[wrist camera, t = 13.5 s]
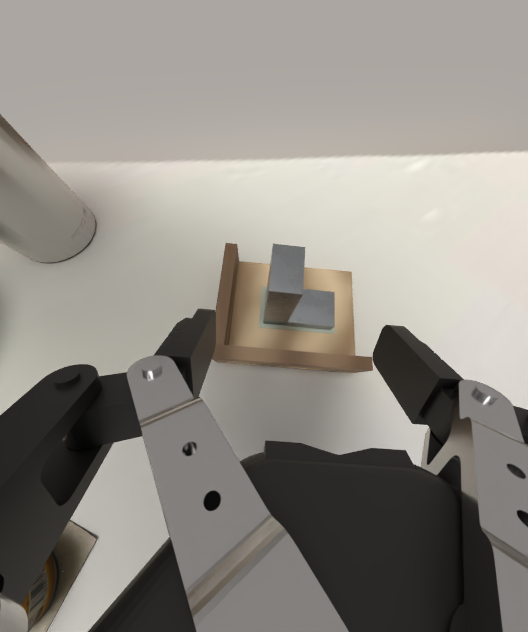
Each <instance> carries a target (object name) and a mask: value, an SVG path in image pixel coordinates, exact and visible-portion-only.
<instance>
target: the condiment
mask: <svg viewBox="0 0 528 632" xmlns="http://www.w3.org/2000/svg"><path fill="white" fill-rule="evenodd" d="M95 541H96V538H95V537H93V536H91V535H90V534H89V533H88V532H87V531H85V530H83V529H82V528H80V527H78V526H76V525H75V524H74V523H73V522H71V521H69V522H68V524H67V526H66V527H65V529H64V531H63V533H62V534H61V536H60V538H59V540H58V541H57V543H56V545H55V547H54V548H53V550H52V552H51V554H50V556H49V557H48V559H47V561H46V563H45V564H44V566H43V568H42V570H41V571H40V573H39V575H38V577H37V578H36V580H35V582H34V584H33V585H32V587H31V589H30V591H29V593H28V594H27V596H26V598H25V600H24V601H23V603H22V605H21V606H22V607H23V608H24V609H25V612H26V614H27V618H28V631H27V632H46V631H47V629H48V627H49V626H50V624H51V622H52V621H53V619H54V617H55V615H56V613H57V611H58V609H59V608H60V606H61V604H62V602H63V600H64V598H65V597H66V595H67V593H68V591H69V589H70V587H71V585H72V583H73V582H74V580H75V578H76V576H77V574H78V573H79V571H80V569H81V567H82V566H83V564H84V562H85V560H86V558H87V556H88V554H89V552H90V550H91V549H92V547H93V545H94V543H95ZM62 571H63V572H62Z"/></svg>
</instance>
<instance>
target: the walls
mask: <svg viewBox="0 0 528 632" xmlns="http://www.w3.org/2000/svg"><path fill="white" fill-rule="evenodd" d="M238 266H239V257H238V248H237V244H230V243H226V245H225V252H224V258H223V265H222V272H221V279H220V285H219V292H218V299H217V306H216V346H215V351H214V354H213V356H212V359H213V360H215V361H223V362H235V363H247V364H259V365H271V366H284V367H296V368H308V369H320V370H332V371H345V372H364V371H372V370H373V366H372V357H363V356H351V355H339V354H327V353H315V352H303V351H291V350H279V349H267V348H255V347H243V346H231V345H229V338H230V330H231V322H232V314H233V306H234V298H235V290H236V282H237V274H238Z"/></svg>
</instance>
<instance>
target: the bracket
mask: <svg viewBox="0 0 528 632" xmlns="http://www.w3.org/2000/svg"><path fill="white" fill-rule="evenodd" d="M304 259H305V247H298V246H288V245H279V244H273V249H272V255H271V262H270V269H269V276H268V283H267V290H266V300H265V310H264V321H263V323H264V324H274V325H284V326H294V327H304V328H314V329H323V330H331V329H332V328H334V327H335V292H330V291H321V290H311V289H303V282H304Z"/></svg>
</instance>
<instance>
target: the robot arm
mask: <svg viewBox="0 0 528 632" xmlns="http://www.w3.org/2000/svg"><path fill="white" fill-rule="evenodd" d="M95 227H96V226H95V219H94V216H93V214H92V212H91V211H90V210H89V209H88V208H87V207H86V206H85V204H84V203H83V202H82V201H81V200H80V199H79V198H78V197H77V196H76V195H75V194H74V193H73V192H72V191H71V189H70V188H69V187H68V186H67V185H66V184H65V183H64V182H63V181H62V180H61V179H60V177H59V176H58V175H57V174H56V173H55V172H54V171H53V170H52V169H51V168H50V167H49V166H48V165H47V164H46V163H45V161H44V160H43V159H41V157H40V156H39V155H38V154H37V153H36V152H35V151H34V150H33V149H32V148H31V147H30V145H29V144H28V143H27V142H26V141H25V140H24V139H23V138H22V137H21V136H20V135H19V134H18V133H17V132H16V131H15V129H14V128H13V127H12V126H11V125H10V124H9V123H8V122H7V121H6V120H5V119H4V118H3V117H2V116H1V114H0V242H1V243H3V244H5V245H6V246H8V247H10V248H12V249H14V250H15V251H17V252H19V253H21V254H23V255H24V256H26V257H28V258H30V259H31V260H35V261H38V262H45V263H49V262H58V261H62V260H65V259H68V258H70V257H72V256H74V255H76V254H77V253H79V252H80V251H81V250H83V249H84V248H85V247H86V246H87V245H88V243H89V242H90V241H91V239H92V237H93V235H94V232H95ZM215 346H216V312H215V310H209V309H198V310H197V311H196V313H195V315H194V316H193V318H185V319H183V320H182V321H180V322H178V323H177V324H176V326H175V327H174V328H173V330H172V331H171V332H170V334H169V335H168V337H167V338H166V339H165V341H164V342H163V343H162V345H161V346H160V347H159V349H158V350H157V352H156V353H155V354H154V356H150V357H146V358H143V359H141V360H139V361H137V362H135V363H134V364H133V365H132V366H131V367H130V368H129V369H128V371H127V372H126V373H120V374H113V375H106V376H99V375H98V372H97V370H96V368H95V367H93V366H91V365H85V364H79V365H72V366H68V367H64V368H62V369H59V370H57V371H55V372H53V373H51V374H49V375H47V376H46V377H45V378H43V379H42V380H41V381H40V382H39V383H37V384H36V385H35V386H34V387H33V388H32V389H30V390H29V391H28V392H27V393H26V394H25V395H24V396H22V397H21V398H20V399H19V400H18V401H17V402H15V403H14V404H13V405H12V406H11V407H10V408H8V409H7V410H6V411H5V412H4V413H3V414H2V415H0V632H27V631H28V618H27V614H26V612H25V609H24V608H23V607H22V606H21V605H22V603H23V601H24V600H25V598H26V596H27V594H28V593H29V591H30V589H31V587H32V585H33V584H34V582H35V580H36V578H37V577H38V575H39V573H40V571H41V570H42V568H43V566H44V564H45V563H46V561H47V559H48V557H49V556H50V554H51V552H52V550H53V548H54V547H55V545H56V543H57V541H58V540H59V538H60V536H61V534H62V533H63V531H64V529H65V527H66V526H67V524H68V522H69V520H70V518H71V517H72V515H73V513H74V511H75V510H76V508H77V506H78V504H79V503H80V501H81V499H82V497H83V496H84V494H85V492H86V490H87V489H88V487H89V485H90V483H91V481H92V480H93V478H94V476H95V474H96V473H97V471H98V469H99V467H100V466H101V464H102V462H103V460H104V459H105V457H106V455H107V453H108V452H109V450H110V448H111V446H112V444H113V443H114V442H118V441H122V440H127V439H131V438H136V437H140V436H143V439H144V443H145V447H146V450H147V454H148V458H149V461H150V465H151V469H152V472H153V476H154V480H155V484H156V487H157V491H158V495H159V498H160V502H161V506H162V510H163V513H164V517H165V521H166V524H167V528H168V532H169V536H170V537H169V538H168V539H167V541H166V542H165V543H164V544H163V545H162V546H161V548H160V549H159V550H158V551H157V552H156V553H155V555H154V556H153V557H152V558H151V559H150V560H149V562H148V563H147V564H146V565H145V566H144V567H143V568H142V570H141V571H140V572H139V573H138V574H137V575H136V577H135V578H134V579H133V580H132V581H131V582H130V584H129V585H128V586H127V587H126V588H125V589H124V591H123V592H122V593H121V594H120V595H119V596H118V597H117V599H116V600H115V601H114V602H113V603H112V604H111V606H110V607H109V608H108V609H107V610H106V611H105V613H104V614H103V615H102V616H101V617H100V618H99V620H98V621H97V622H96V623H95V624H94V625H93V626H92V628H91V629H90V630H89V631H88V632H528V410H526V409H523V408H519V407H516V406H513V405H512V403H511V402H510V401H509V400H508V399H507V398H506V397H505V396H504V395H502V394H501V393H500V392H498V391H497V390H495V389H493V388H491V387H489V386H487V385H485V384H483V383H480V382H477V381H472V380H464V379H463V378H462V377H461V376H459V375H458V374H457V373H456V372H455V371H454V370H453V369H452V368H451V367H450V366H449V365H448V364H447V363H445V362H444V361H443V360H441V358H440V357H439V356H438V355H437V354H436V353H434V351H432V350H431V349H430V348H429V347H428V346H427V345H426V344H424V343H423V342H421V341H419V340H418V339H417V338H416V337H415V336H414V335H413V334H412V333H411V332H410V331H409V330H408V329H406V328H405V327H404V326H394V325H386V326H384V327H383V329H382V331H381V334H380V336H379V339H378V341H377V344H376V346H375V349H374V352H373V362H374V365H375V366H376V368H377V369H378V371H379V372H380V374H381V376H382V377H383V379H384V380H385V382H386V383H387V385H388V387H389V388H390V390H391V391H392V393H393V394H394V396H395V397H396V399H397V401H398V402H399V404H400V405H401V407H402V408H403V410H404V412H405V413H406V415H407V416H408V418H409V419H410V421H411V422H412V424H423V425H428V426H429V429H428V430H427V432H426V433H425V439H424V447H423V454H422V461H421V467H419V466H416V465H414V464H413V463H412V461H411V459H410V458H409V456H408V454H407V452H406V450H392V449H378V448H370V449H365V450H361V451H356V452H352V453H347V454H343V455H336V454H333V453H330V452H327V451H323V450H320V449H317V448H314V447H311V446H308V445H305V444H302V443H292V442H278V441H265V446H264V452H263V453H259V454H255V455H252V456H250V457H247V458H245V459H243V460H242V461H240V462H239V460H238V458H237V457H236V455H235V453H234V452H233V450H232V448H231V447H230V445H229V443H228V442H227V440H226V438H225V436H224V435H223V433H222V431H221V430H220V428H219V426H218V425H217V423H216V421H215V419H214V418H213V416H212V414H211V413H210V411H209V409H208V408H207V406H206V404H205V402H204V401H203V400H202V398H201V397H198V396H199V393H200V390H201V388H202V385H203V382H204V379H205V376H206V373H207V371H208V368H209V365H210V362H211V359H212V356H213V354H214V351H215Z"/></svg>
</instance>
